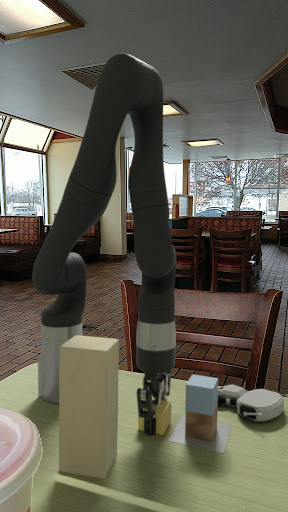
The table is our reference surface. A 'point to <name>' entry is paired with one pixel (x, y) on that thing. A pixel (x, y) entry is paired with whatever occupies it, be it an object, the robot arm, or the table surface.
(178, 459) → the table surface
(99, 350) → the cream tall block
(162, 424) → the yellow cube
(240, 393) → the robot toy
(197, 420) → the brick walnut
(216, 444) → the base plate
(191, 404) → the brick blue
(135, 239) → the robot arm
